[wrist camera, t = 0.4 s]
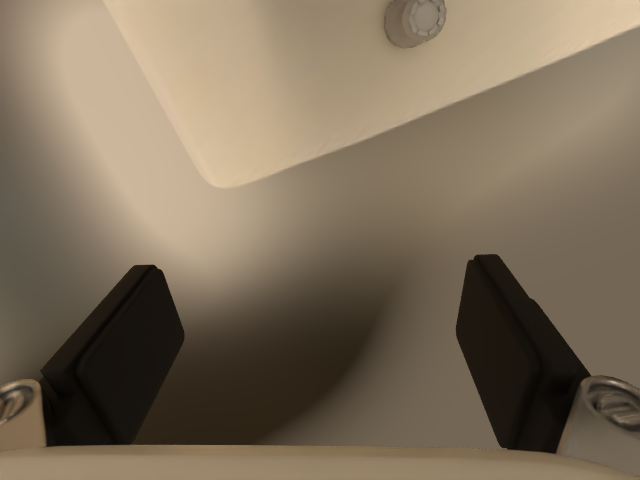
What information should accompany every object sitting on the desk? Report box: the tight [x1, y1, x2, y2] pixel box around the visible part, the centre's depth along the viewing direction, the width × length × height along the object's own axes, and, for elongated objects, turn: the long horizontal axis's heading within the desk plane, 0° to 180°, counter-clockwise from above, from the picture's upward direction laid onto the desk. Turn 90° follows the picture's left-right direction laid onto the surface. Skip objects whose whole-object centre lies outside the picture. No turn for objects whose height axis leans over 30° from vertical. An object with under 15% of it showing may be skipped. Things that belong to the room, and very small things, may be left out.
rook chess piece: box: [385, 0, 446, 48], centre depth 29 cm, size 4×4×8 cm
